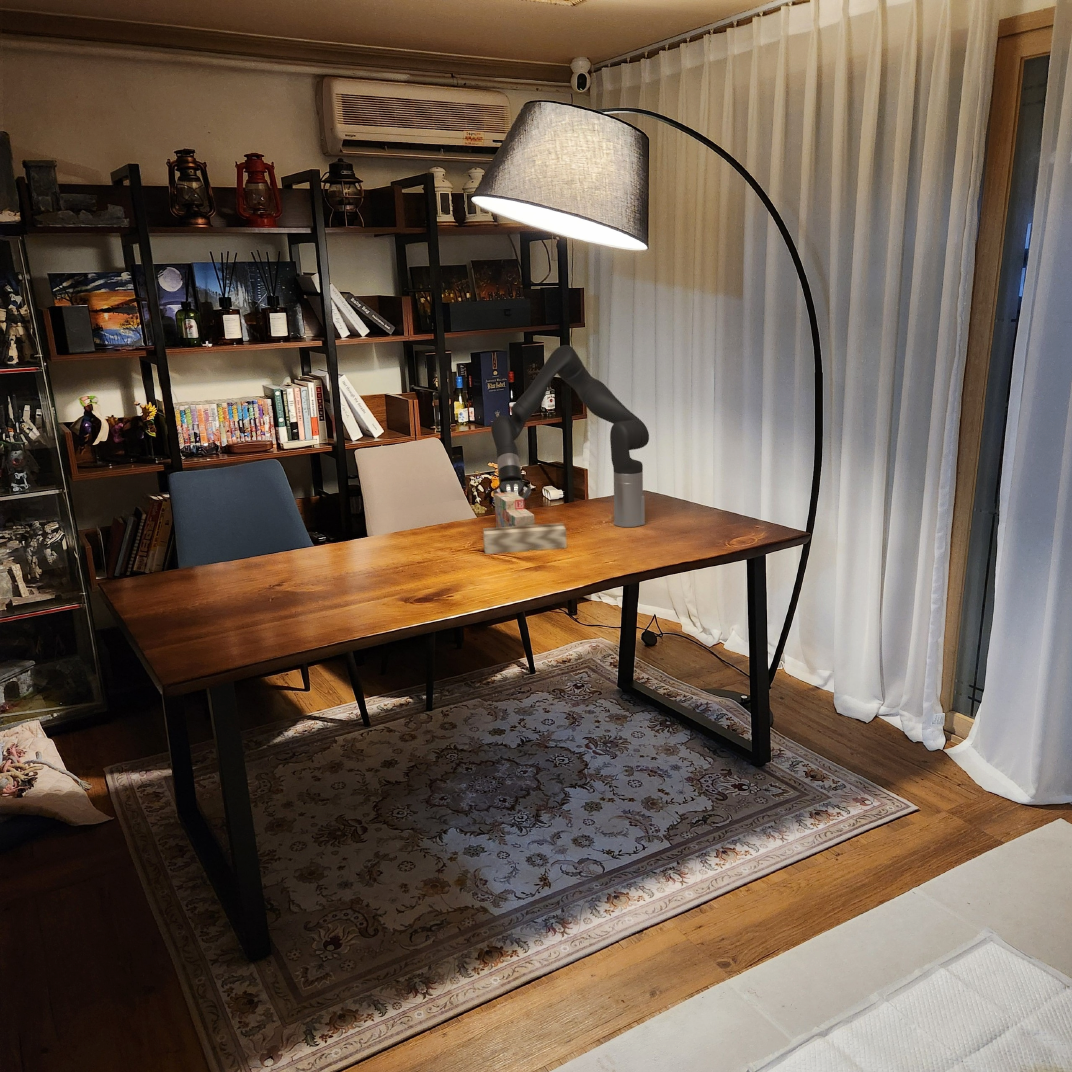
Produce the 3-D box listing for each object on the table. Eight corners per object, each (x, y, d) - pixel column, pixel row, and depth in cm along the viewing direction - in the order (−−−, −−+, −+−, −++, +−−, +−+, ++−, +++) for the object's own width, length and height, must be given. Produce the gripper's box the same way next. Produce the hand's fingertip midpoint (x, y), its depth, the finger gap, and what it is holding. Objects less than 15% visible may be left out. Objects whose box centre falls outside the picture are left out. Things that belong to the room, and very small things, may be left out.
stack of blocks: (535, 544, 277) (534, 505, 274) (515, 547, 275) (513, 507, 272) (514, 528, 297) (512, 490, 293) (495, 530, 295) (493, 492, 291)
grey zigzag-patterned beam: (563, 543, 277) (563, 522, 275) (566, 548, 272) (565, 526, 270) (484, 549, 274) (482, 528, 272) (485, 554, 269) (484, 532, 268)
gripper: (528, 475, 308) (534, 519, 300) (489, 477, 307) (494, 522, 298) (529, 462, 302) (536, 508, 293) (489, 465, 300) (494, 510, 292)
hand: (514, 515), depth 296 cm, fingers closed
